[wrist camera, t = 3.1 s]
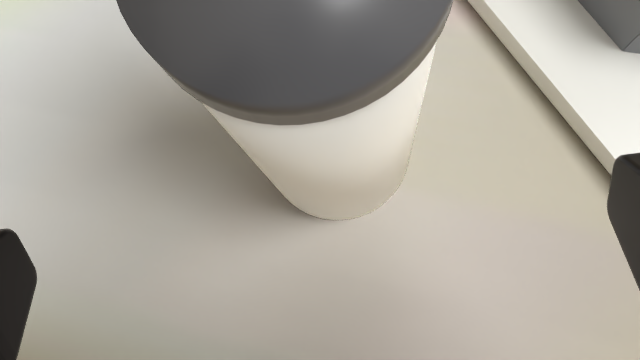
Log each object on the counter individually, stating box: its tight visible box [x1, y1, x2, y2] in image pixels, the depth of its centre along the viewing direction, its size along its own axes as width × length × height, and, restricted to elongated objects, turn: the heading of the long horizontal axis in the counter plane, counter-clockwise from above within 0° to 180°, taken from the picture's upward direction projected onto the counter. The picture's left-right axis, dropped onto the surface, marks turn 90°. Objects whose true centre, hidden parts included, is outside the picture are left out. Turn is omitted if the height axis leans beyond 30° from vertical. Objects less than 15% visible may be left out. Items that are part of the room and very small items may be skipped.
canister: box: [116, 0, 453, 220], centre depth 14 cm, size 5×5×12 cm
